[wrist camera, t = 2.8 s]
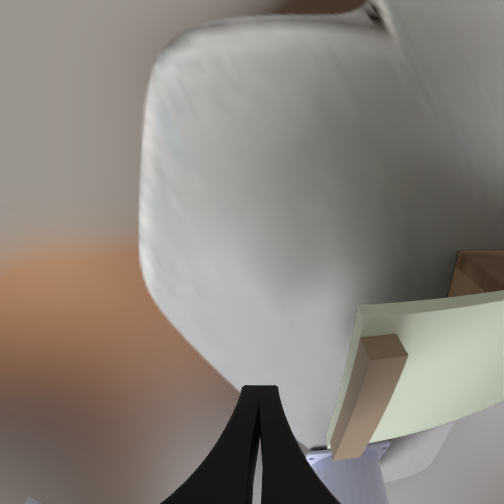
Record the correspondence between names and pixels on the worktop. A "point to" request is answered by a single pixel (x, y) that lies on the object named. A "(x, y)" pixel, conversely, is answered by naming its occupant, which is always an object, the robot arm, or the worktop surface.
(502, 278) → the pencil box
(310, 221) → the worktop surface
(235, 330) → the worktop surface
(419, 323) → the wood-edged cream panel
